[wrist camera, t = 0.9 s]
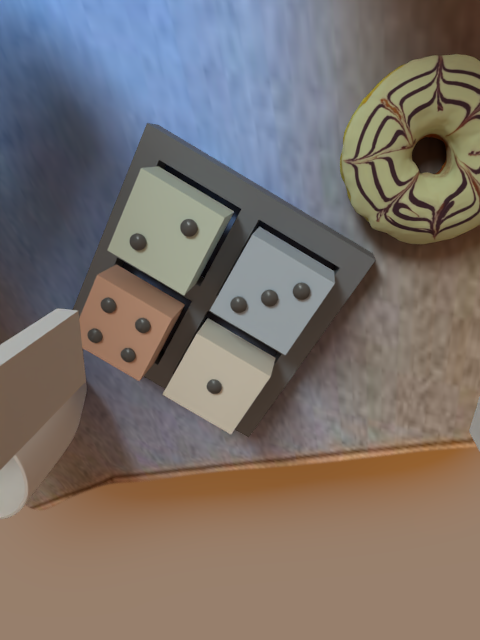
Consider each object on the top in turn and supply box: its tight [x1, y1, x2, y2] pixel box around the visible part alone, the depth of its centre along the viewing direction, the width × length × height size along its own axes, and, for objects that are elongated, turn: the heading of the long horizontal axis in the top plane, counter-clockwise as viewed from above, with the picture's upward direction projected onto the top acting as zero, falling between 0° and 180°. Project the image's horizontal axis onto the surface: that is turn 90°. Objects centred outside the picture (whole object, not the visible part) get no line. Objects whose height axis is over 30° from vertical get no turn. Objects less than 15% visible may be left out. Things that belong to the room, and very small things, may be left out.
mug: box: [0, 382, 87, 519], centre depth 36 cm, size 12×9×12 cm
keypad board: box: [73, 123, 375, 437], centre depth 34 cm, size 18×18×2 cm
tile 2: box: [108, 166, 234, 295], centre depth 29 cm, size 6×6×3 cm
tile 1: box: [162, 318, 275, 434], centre depth 33 cm, size 6×6×3 cm
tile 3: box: [210, 227, 335, 355], centre depth 29 cm, size 6×6×3 cm
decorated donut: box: [340, 54, 480, 244], centre depth 27 cm, size 10×11×4 cm
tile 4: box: [79, 264, 185, 381], centre depth 32 cm, size 6×6×3 cm
